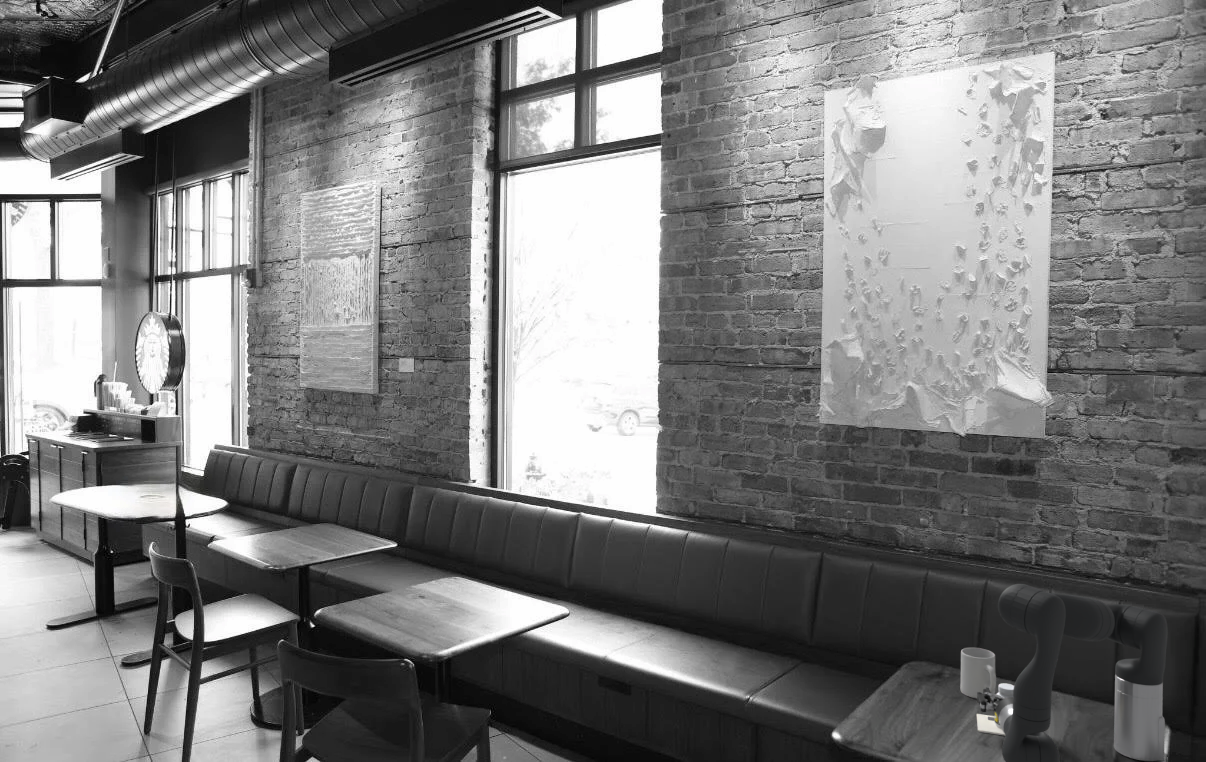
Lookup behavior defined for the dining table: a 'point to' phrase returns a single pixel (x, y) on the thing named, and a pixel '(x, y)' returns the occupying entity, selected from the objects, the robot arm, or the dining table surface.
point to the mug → (977, 671)
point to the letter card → (988, 725)
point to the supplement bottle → (1004, 695)
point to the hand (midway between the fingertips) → (1005, 693)
